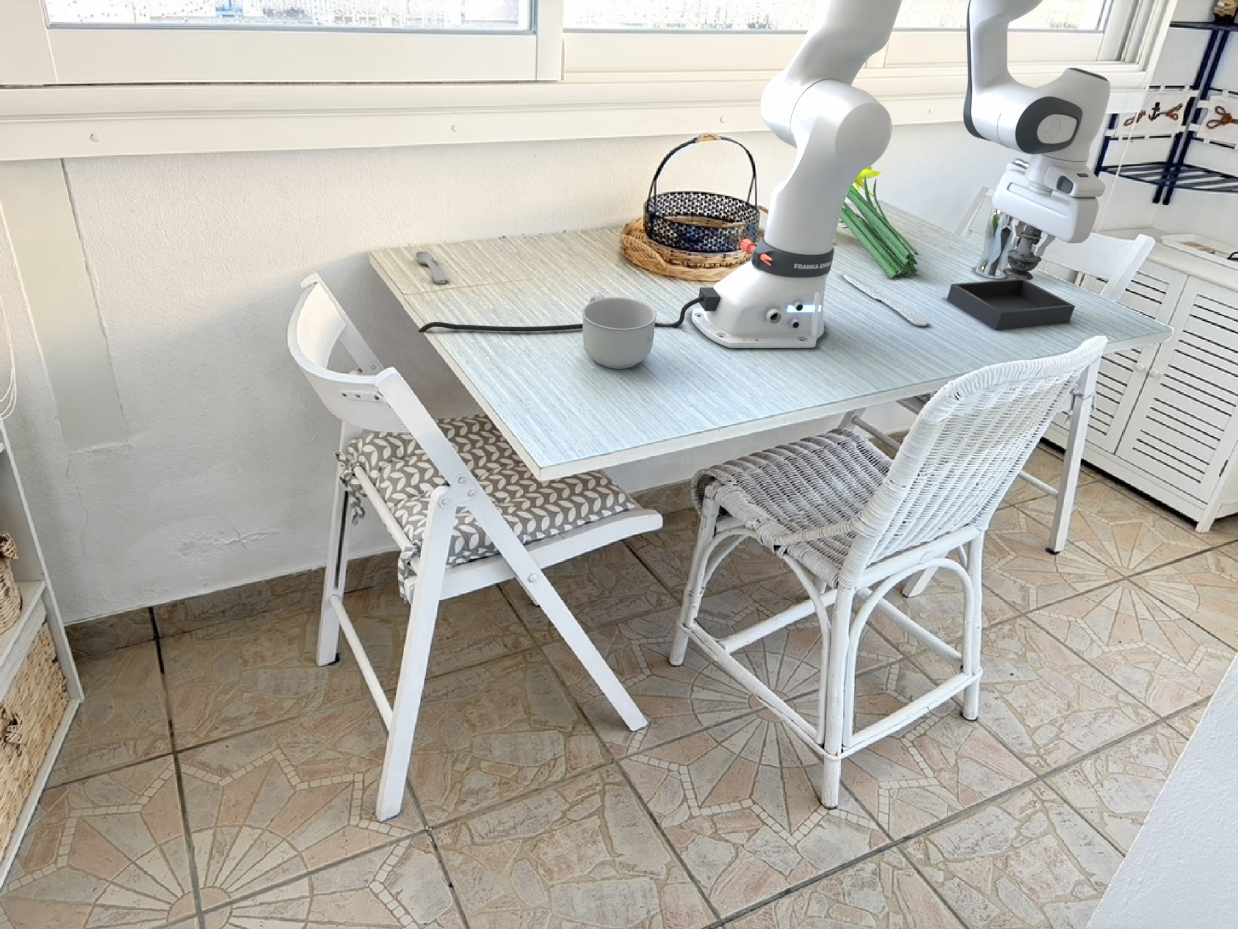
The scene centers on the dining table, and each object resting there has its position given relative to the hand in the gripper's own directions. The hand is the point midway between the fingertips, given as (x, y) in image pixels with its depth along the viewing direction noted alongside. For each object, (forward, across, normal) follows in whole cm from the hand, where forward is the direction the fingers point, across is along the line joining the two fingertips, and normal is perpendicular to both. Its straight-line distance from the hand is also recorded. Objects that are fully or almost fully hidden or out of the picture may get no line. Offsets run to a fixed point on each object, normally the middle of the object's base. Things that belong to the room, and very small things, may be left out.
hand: (1026, 250), depth 164 cm
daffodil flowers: (+12, -33, -8) cm, 36 cm away
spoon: (+14, -36, -99) cm, 106 cm away
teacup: (+13, +2, -79) cm, 81 cm away
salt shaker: (+5, 0, 0) cm, 5 cm away
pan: (+12, 0, +1) cm, 12 cm away
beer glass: (+12, -17, +12) cm, 24 cm away
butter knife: (+12, -9, -21) cm, 26 cm away
